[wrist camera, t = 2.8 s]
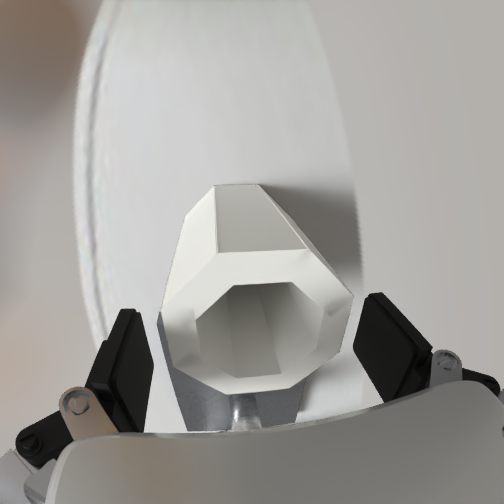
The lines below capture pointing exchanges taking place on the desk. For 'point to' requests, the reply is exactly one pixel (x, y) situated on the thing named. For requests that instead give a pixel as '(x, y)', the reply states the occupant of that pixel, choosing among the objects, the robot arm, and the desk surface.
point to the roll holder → (229, 401)
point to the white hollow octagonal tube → (250, 296)
